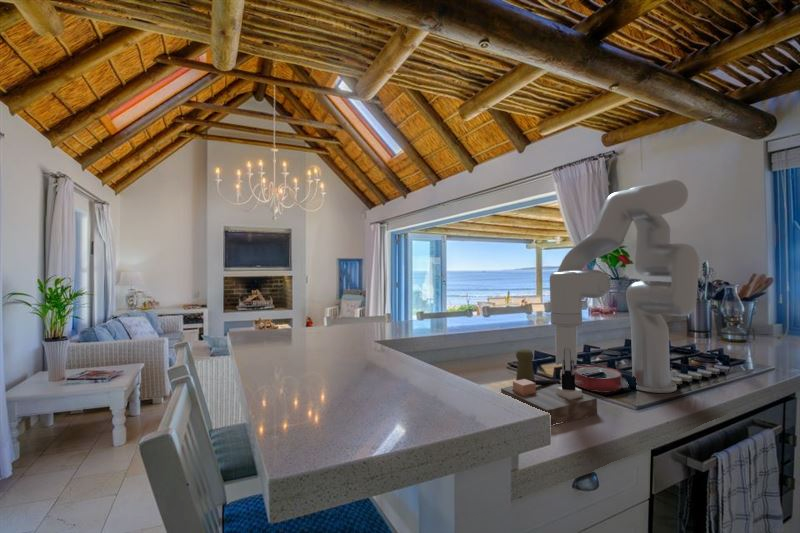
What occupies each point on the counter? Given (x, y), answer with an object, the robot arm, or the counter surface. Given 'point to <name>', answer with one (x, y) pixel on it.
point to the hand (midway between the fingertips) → (568, 388)
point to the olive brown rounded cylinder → (524, 365)
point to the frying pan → (591, 379)
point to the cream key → (569, 393)
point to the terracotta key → (524, 387)
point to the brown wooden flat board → (556, 403)
